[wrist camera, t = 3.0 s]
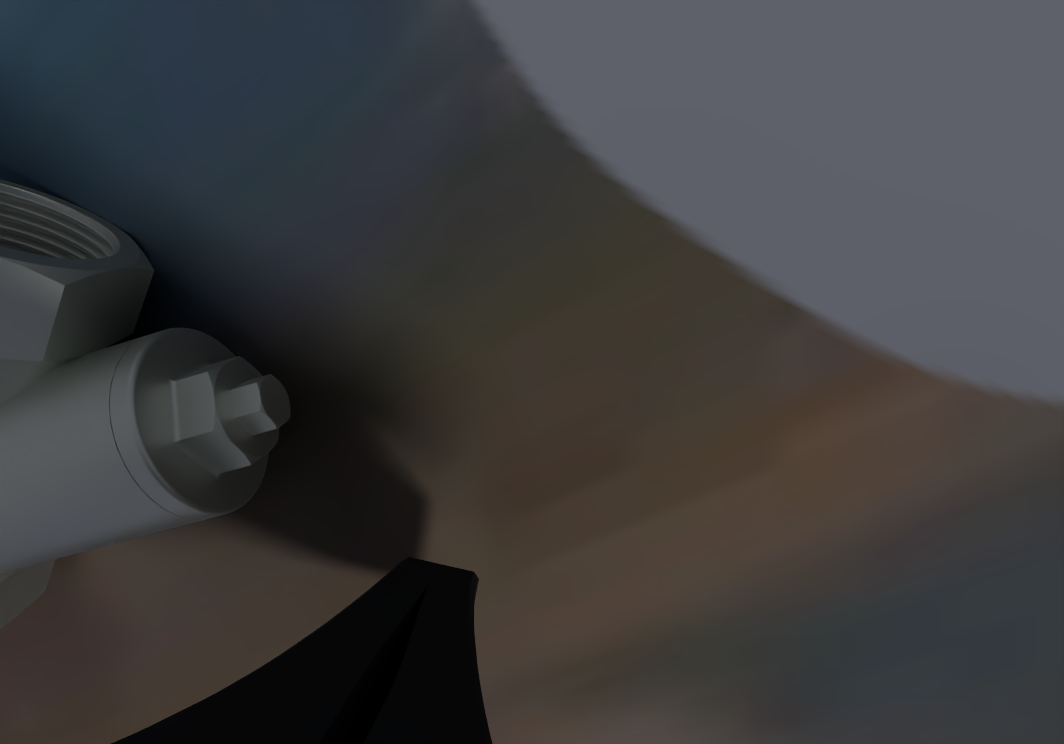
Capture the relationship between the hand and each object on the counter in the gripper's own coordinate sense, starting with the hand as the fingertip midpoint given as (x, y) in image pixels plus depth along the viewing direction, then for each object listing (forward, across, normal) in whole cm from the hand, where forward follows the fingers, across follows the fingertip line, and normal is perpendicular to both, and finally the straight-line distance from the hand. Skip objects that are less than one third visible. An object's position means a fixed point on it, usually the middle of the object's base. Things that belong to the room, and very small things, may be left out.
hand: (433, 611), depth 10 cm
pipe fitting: (+2, +7, -1) cm, 8 cm away
